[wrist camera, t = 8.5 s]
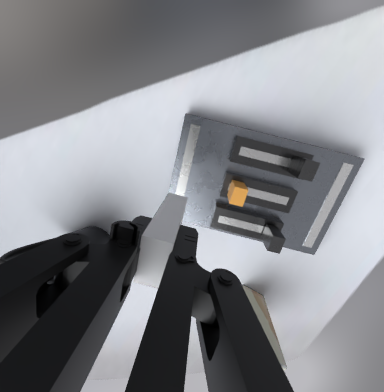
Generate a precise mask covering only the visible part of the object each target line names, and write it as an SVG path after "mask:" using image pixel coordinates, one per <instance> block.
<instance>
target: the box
mask: <svg viewBox="0 0 384 392" xmlns="http://www.w3.org/2000/svg"><path fill="white" fill-rule="evenodd" d="M242 287H243V289H244V291H245V293H246V295H247V297H248V299H249V301H250V303H251V305H252V307H253V309H254V311H255V313H256V315H257V317H258V319H259V321H260V323H261V325H262V327H263V330H264V332H265V334H266V336H267V338H268V340H269V342H270V344H271V346H272V348H273V350H274V352H275V354H276V356H277V358H278V360H279V362H280V364H281V366H282V368H283V370H284V371H285V370H286V369H287V366H286V363H285V360H284V357H283V354H282V351H281V348H280V345H279V342H278V339H277V336H276V333H275V330H274V327H273V324H272V321H271V318H270V315H269V312H268V309H267V306H266V303H265V300H264V297H263V296H262V295H261V294H259V293H257V292H255V291H254V290H252V289H250V288H248V287H246V286H244V285H242Z"/></svg>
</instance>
